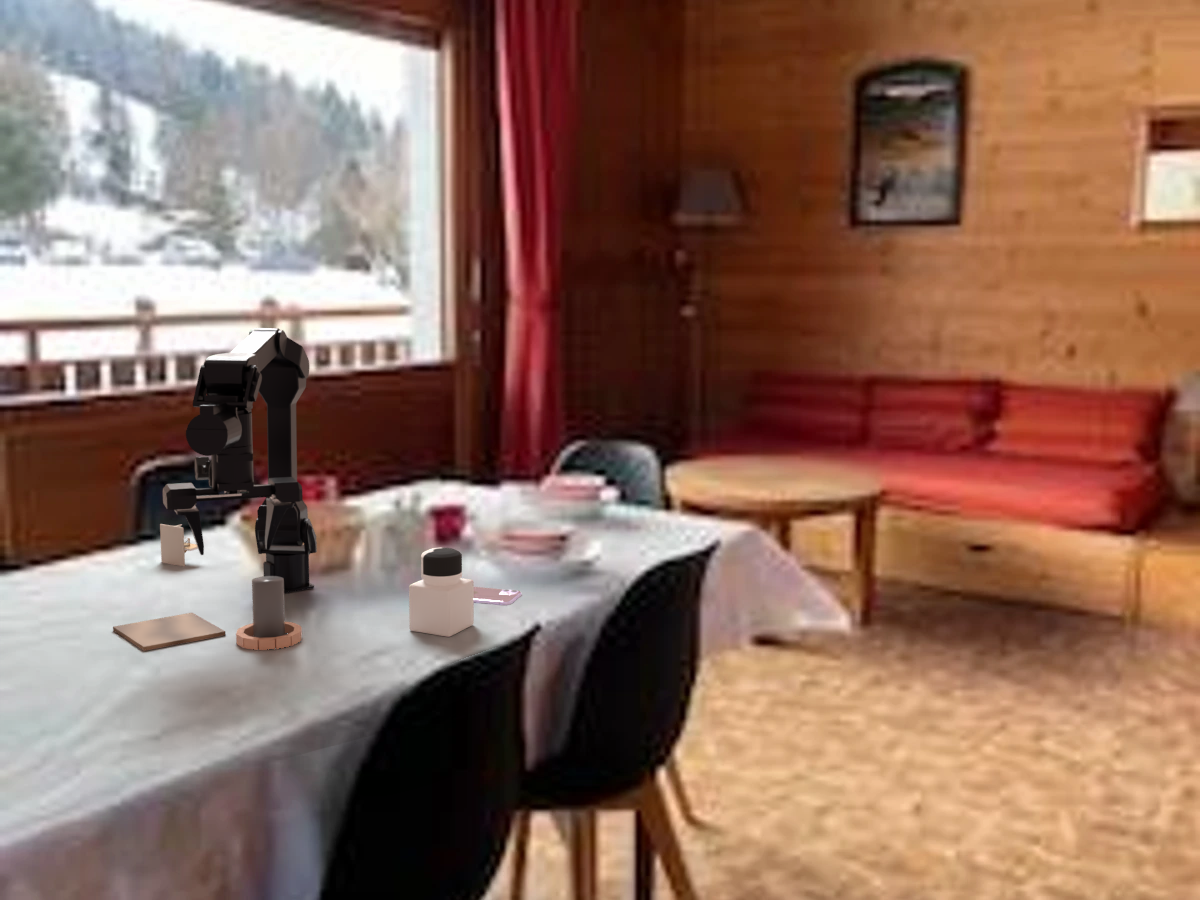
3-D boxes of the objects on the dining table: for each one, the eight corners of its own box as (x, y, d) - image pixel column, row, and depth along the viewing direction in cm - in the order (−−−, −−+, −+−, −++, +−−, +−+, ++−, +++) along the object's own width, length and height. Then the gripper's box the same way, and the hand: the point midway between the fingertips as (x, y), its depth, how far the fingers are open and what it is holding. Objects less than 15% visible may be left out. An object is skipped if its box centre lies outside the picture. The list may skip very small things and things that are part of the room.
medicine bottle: (474, 625, 193) (474, 547, 191) (449, 637, 187) (449, 558, 185) (434, 618, 196) (433, 542, 194) (408, 631, 190) (407, 552, 188)
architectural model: (175, 560, 230) (173, 520, 229) (203, 565, 227) (202, 525, 226) (160, 564, 227) (159, 524, 226) (189, 569, 224) (187, 528, 223)
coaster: (192, 616, 195) (192, 612, 195) (225, 635, 186) (225, 631, 186) (113, 630, 187) (113, 626, 187) (143, 651, 178) (143, 646, 178)
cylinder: (276, 633, 187) (275, 574, 186) (290, 641, 184) (289, 580, 182) (248, 639, 184) (246, 579, 183) (262, 647, 181) (260, 585, 180)
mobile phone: (439, 582, 215) (523, 589, 211) (439, 587, 215) (523, 595, 211) (421, 593, 208) (508, 601, 204) (421, 599, 208) (508, 607, 204)
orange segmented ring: (283, 627, 190) (283, 617, 190) (312, 641, 184) (312, 631, 183) (226, 638, 185) (226, 628, 184) (254, 654, 178) (253, 643, 178)
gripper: (286, 434, 192) (289, 535, 195) (156, 439, 185) (160, 545, 187) (302, 444, 182) (304, 551, 185) (165, 451, 175) (169, 562, 177)
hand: (234, 551), depth 184 cm, fingers open, 9 cm apart
